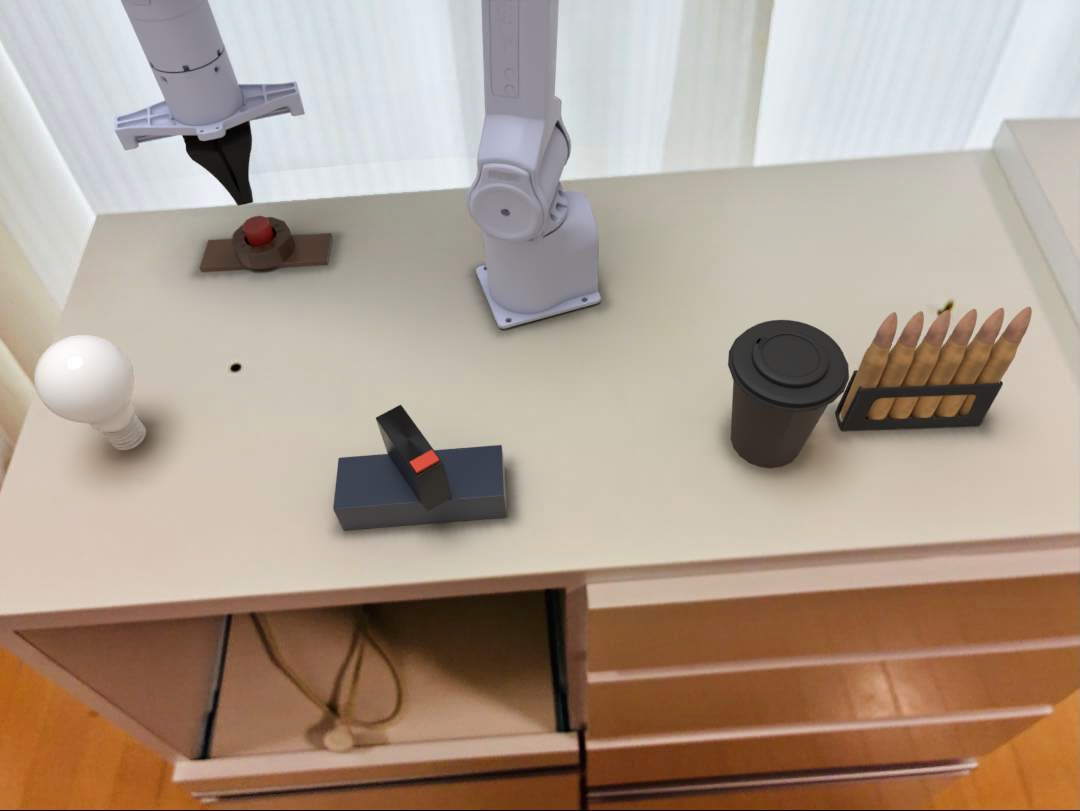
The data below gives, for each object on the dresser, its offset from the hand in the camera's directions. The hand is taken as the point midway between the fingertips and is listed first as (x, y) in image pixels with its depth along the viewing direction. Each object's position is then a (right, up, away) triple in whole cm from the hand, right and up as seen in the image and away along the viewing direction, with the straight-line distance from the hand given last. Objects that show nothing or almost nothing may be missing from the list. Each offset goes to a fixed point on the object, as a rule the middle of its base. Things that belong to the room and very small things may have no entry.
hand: (244, 197), depth 74 cm
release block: (0, -4, +5) cm, 7 cm away
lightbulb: (-6, -22, -8) cm, 24 cm away
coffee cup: (+44, -21, -10) cm, 50 cm away
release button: (0, -3, +4) cm, 5 cm away
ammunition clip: (+55, -20, -10) cm, 59 cm away
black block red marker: (+18, -24, -15) cm, 33 cm away
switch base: (+18, -25, -12) cm, 33 cm away
